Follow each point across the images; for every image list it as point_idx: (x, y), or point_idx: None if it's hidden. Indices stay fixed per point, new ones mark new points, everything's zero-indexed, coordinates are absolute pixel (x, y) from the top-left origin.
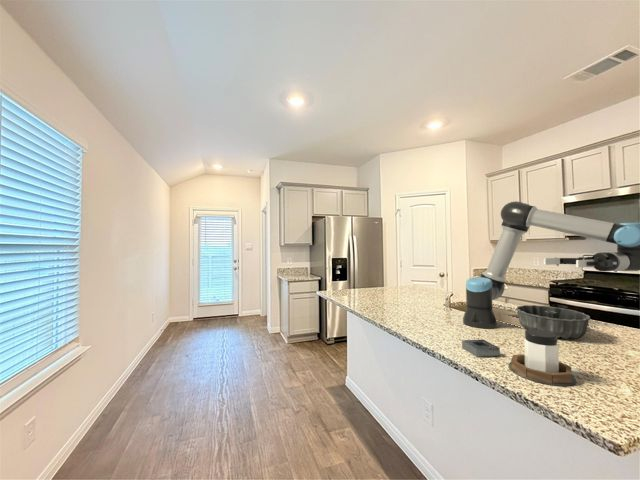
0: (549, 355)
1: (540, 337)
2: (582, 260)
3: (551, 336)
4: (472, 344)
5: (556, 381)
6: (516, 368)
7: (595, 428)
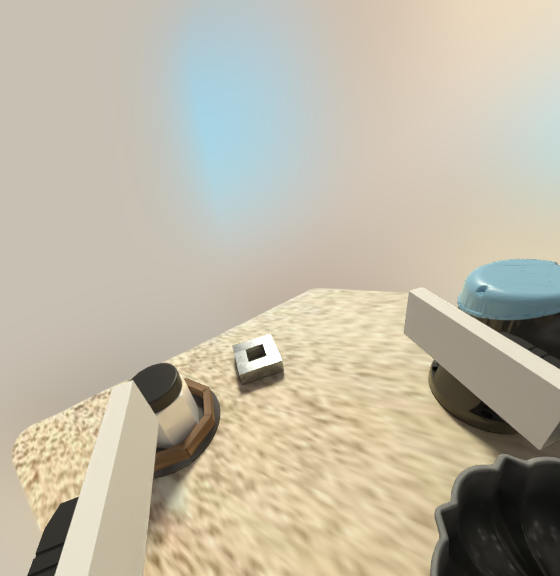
0: None
1: (134, 376)
2: (101, 428)
3: None
4: (251, 343)
5: None
6: None
7: (44, 424)
